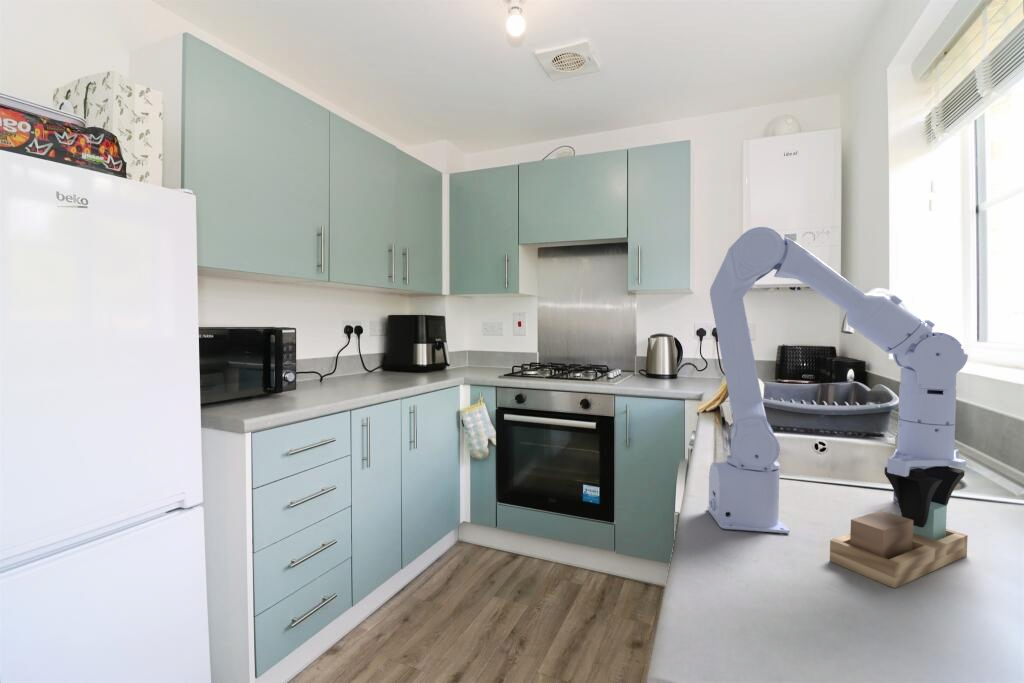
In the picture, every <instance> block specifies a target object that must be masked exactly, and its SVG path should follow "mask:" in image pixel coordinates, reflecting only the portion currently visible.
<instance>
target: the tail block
mask: <svg viewBox="0 0 1024 683" xmlns="http://www.w3.org/2000/svg"><path fill="white" fill-rule="evenodd" d="M947 507H948V505H947V506H946V505H942V504H938V503H935V502H931V503H930V508H929V513H928V518H927V522H926V524H925V526H924V527H918V526H915V525H913V533H914V534H918V535H921V536H924V537H927V538H930V539H933V540H936V541H937V540H940V539H942V538H945V537H946V529H947V509H948V508H947ZM900 516H901V517H902V515H901V514H900Z"/></svg>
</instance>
